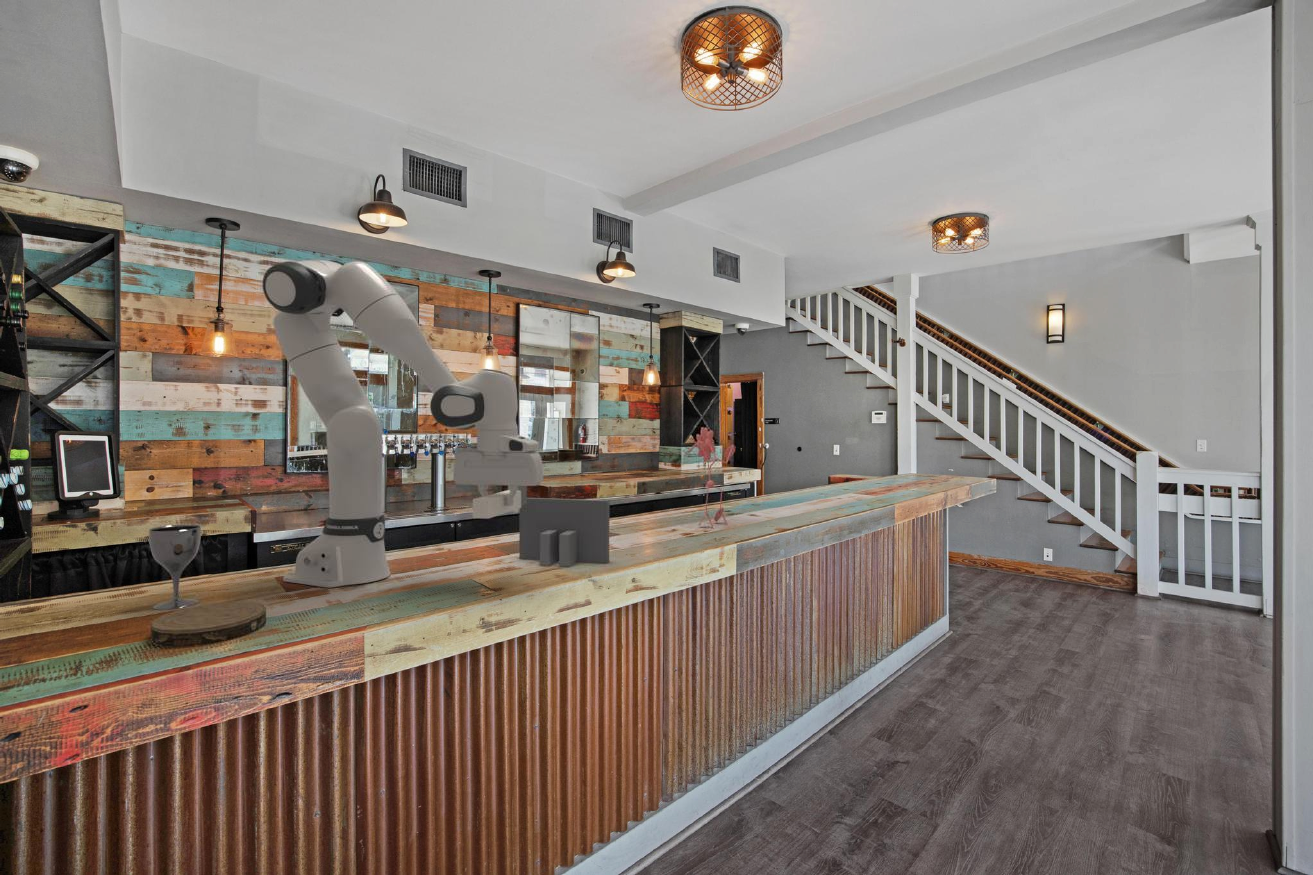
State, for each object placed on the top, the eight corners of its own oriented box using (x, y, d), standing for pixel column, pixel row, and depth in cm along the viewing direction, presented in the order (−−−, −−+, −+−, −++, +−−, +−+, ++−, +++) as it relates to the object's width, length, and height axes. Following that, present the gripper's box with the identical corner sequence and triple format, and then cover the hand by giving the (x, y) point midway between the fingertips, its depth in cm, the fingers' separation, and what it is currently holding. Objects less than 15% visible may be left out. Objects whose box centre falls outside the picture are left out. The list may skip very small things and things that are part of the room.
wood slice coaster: (124, 648, 97) (124, 630, 97) (199, 617, 113) (198, 601, 113) (225, 649, 97) (225, 630, 97) (285, 617, 113) (285, 601, 113)
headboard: (509, 563, 157) (509, 501, 156) (522, 557, 165) (522, 497, 164) (600, 568, 152) (600, 504, 152) (609, 561, 160) (609, 500, 160)
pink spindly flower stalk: (741, 522, 226) (740, 426, 225) (702, 531, 205) (700, 426, 205) (706, 519, 235) (705, 427, 235) (665, 527, 215) (664, 427, 215)
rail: (473, 518, 129) (472, 489, 129) (518, 503, 151) (517, 479, 151) (488, 518, 129) (487, 489, 128) (531, 504, 150) (531, 479, 150)
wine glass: (159, 613, 115) (159, 532, 114) (142, 606, 119) (141, 528, 118) (208, 602, 121) (208, 526, 121) (190, 596, 126) (190, 523, 125)
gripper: (447, 443, 136) (448, 506, 136) (534, 443, 131) (534, 508, 132) (462, 442, 142) (463, 502, 142) (545, 442, 137) (546, 504, 138)
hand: (498, 505), depth 137 cm, fingers closed on rail, 3 cm apart
